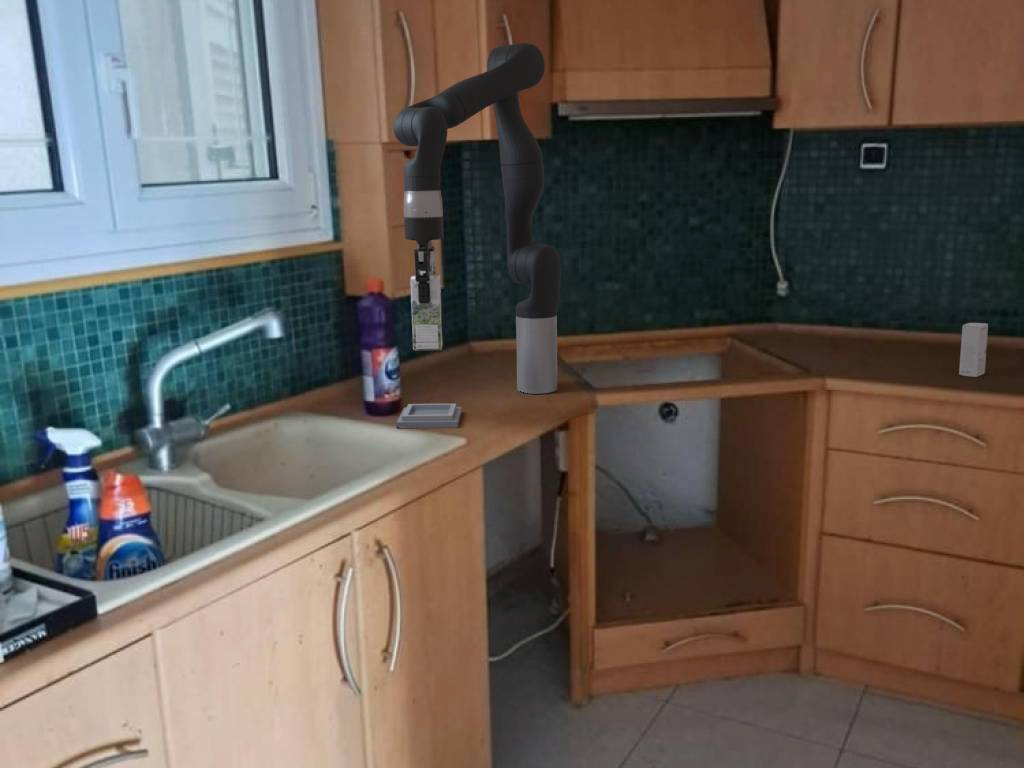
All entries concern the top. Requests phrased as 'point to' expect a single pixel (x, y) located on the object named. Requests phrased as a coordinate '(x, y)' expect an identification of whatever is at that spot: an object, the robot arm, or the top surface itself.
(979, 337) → the skincare box
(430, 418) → the base plate
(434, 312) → the syrup box
